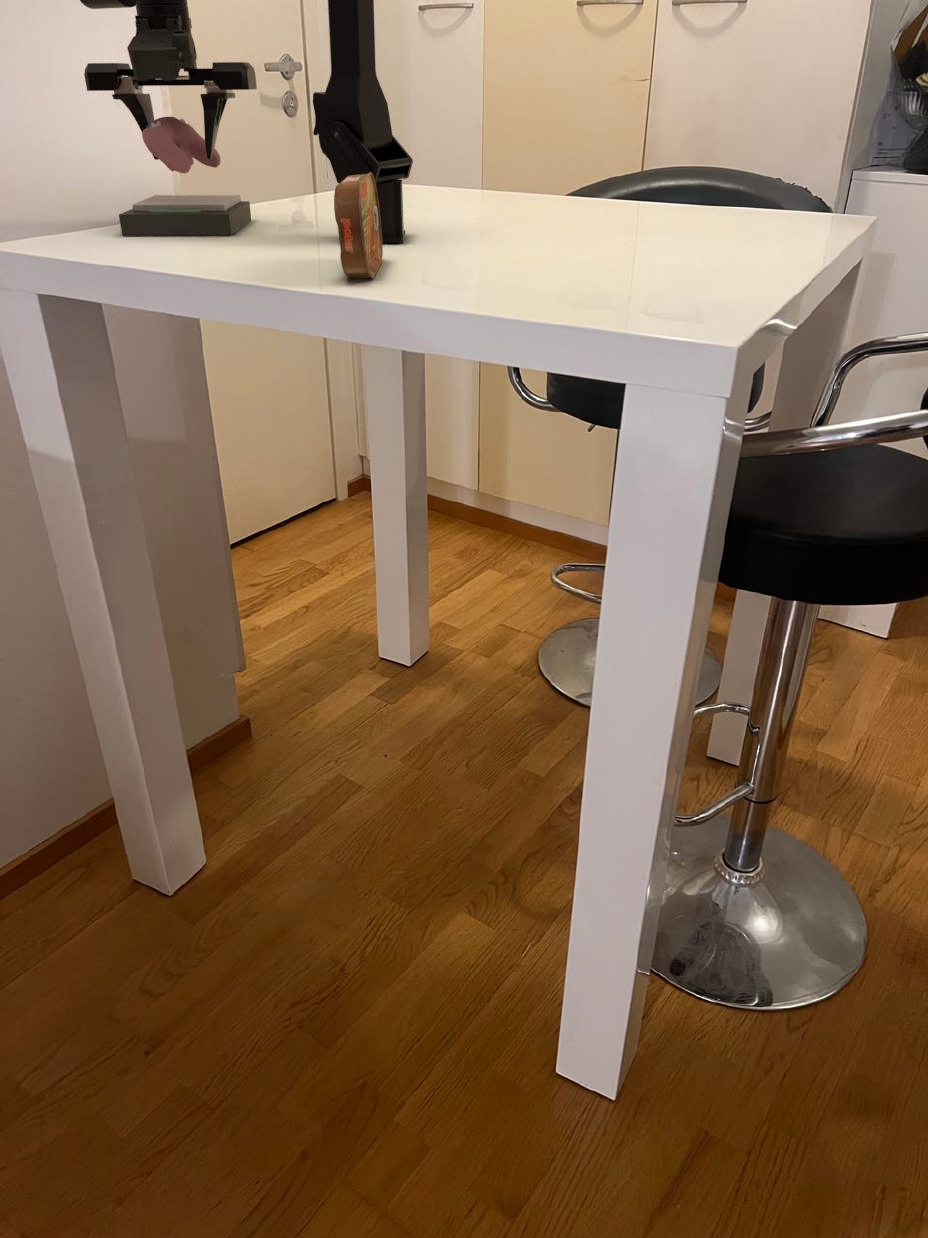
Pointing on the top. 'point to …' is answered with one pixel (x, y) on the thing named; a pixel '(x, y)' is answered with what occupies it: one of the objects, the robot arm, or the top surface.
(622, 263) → the top surface
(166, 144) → the video game controller
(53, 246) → the top surface
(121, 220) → the scale
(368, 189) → the tin
